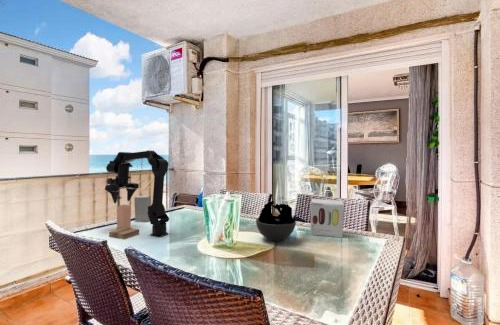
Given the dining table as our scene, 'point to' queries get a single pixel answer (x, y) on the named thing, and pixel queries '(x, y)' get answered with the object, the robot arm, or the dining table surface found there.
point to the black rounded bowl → (276, 222)
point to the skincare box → (142, 208)
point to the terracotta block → (123, 216)
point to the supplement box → (327, 217)
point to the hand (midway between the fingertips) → (121, 202)
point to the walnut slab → (124, 233)
